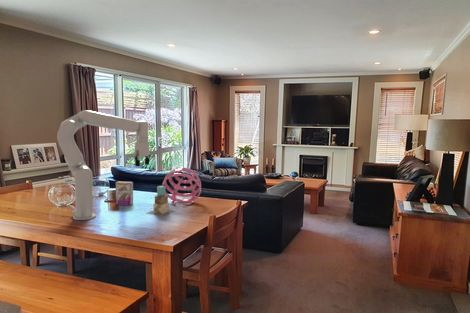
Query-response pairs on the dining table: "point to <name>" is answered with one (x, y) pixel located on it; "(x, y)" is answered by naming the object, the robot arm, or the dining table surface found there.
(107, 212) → the dining table surface
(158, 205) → the tower base
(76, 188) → the robot arm
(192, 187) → the pink openwork sphere
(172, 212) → the felt mat
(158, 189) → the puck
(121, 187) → the candy bar box
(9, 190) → the dining table surface
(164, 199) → the tower top
